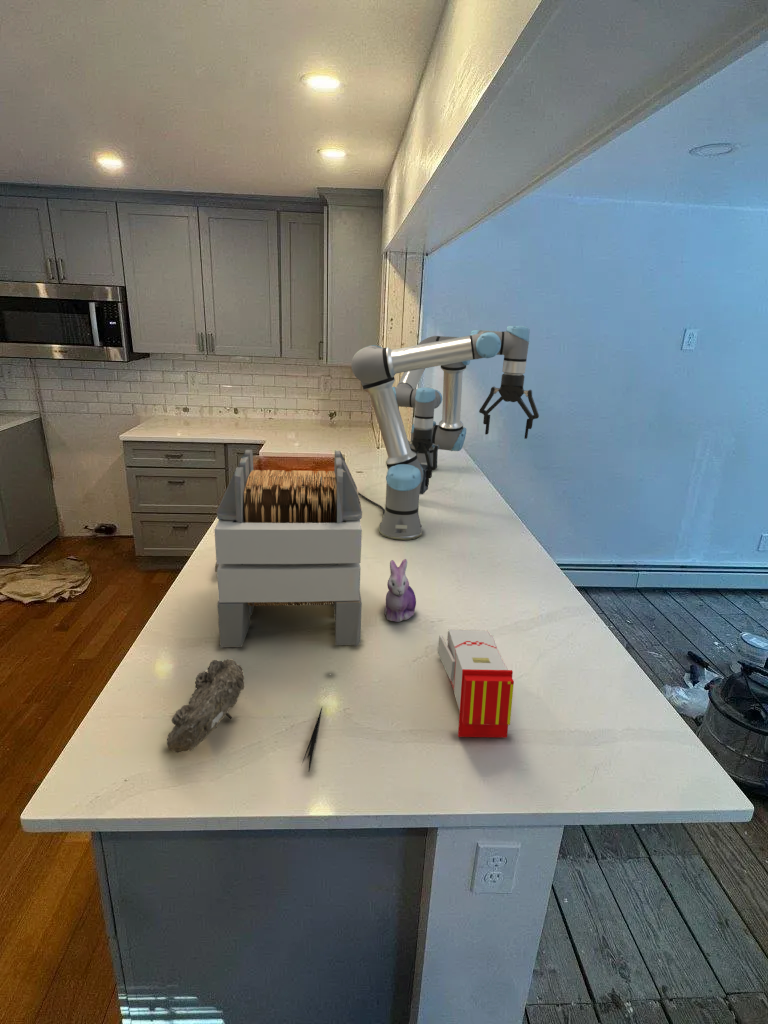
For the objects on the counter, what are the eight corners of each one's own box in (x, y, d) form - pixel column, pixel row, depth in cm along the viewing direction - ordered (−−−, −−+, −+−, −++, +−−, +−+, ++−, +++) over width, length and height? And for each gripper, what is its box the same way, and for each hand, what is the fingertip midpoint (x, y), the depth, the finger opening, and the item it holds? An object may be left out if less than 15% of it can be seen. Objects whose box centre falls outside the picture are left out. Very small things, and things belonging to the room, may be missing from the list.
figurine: (392, 627, 141) (395, 572, 136) (374, 608, 149) (376, 556, 144) (425, 619, 145) (429, 566, 140) (405, 601, 154) (408, 550, 149)
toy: (488, 613, 130) (523, 677, 101) (484, 667, 133) (517, 744, 104) (435, 612, 130) (455, 676, 101) (432, 666, 133) (451, 743, 103)
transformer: (237, 581, 160) (230, 440, 146) (353, 580, 164) (356, 442, 150) (217, 649, 129) (206, 477, 115) (361, 646, 132) (366, 479, 119)
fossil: (192, 660, 117) (244, 628, 112) (224, 691, 120) (276, 661, 115) (142, 746, 98) (202, 712, 93) (182, 779, 101) (242, 748, 96)
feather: (331, 679, 122) (336, 673, 122) (307, 777, 96) (313, 769, 95) (324, 675, 122) (329, 669, 121) (298, 772, 95) (304, 764, 95)
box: (423, 494, 227) (424, 469, 224) (409, 492, 229) (411, 467, 226) (428, 489, 234) (430, 464, 231) (415, 487, 236) (416, 463, 233)
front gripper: (552, 375, 191) (543, 437, 198) (478, 370, 198) (472, 430, 206) (550, 377, 184) (541, 441, 191) (474, 372, 192) (468, 433, 199)
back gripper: (448, 428, 223) (444, 485, 231) (403, 424, 229) (400, 479, 237) (444, 432, 217) (439, 490, 225) (397, 427, 222) (395, 483, 230)
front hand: (506, 435), depth 199 cm, fingers open, 13 cm apart
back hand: (419, 484), depth 231 cm, fingers closed on box, 6 cm apart
